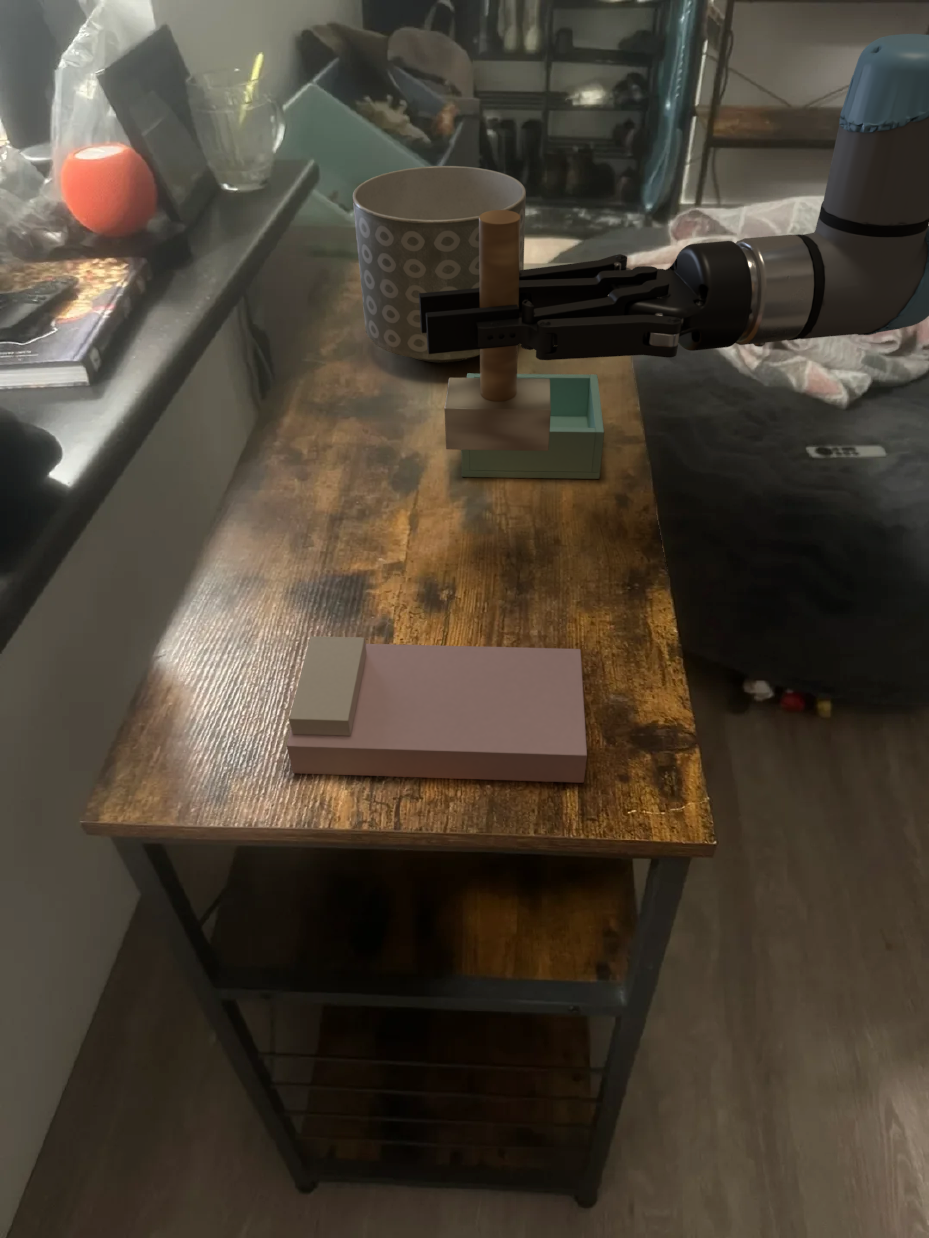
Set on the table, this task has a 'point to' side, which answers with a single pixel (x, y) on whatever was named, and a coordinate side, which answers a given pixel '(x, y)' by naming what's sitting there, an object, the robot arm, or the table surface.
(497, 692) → the bed
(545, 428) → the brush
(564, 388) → the green open box
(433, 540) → the table surface
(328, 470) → the table surface
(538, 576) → the table surface
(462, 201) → the planter
